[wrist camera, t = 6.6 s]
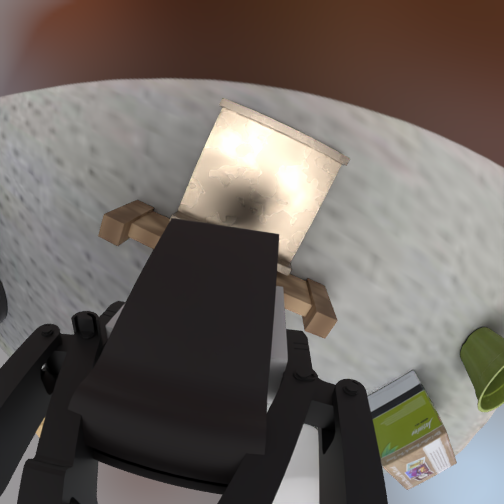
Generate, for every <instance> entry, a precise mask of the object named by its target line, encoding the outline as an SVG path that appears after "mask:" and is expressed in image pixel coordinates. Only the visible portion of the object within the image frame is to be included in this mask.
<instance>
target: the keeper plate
mask: <svg viewBox="0 0 504 504" xmlns="http://www.w3.org/2000/svg"><path fill="white" fill-rule="evenodd" d="M219 105H220V106H221V107H222V110H221V112H220V114H219V117H218V119H217V121H216V123H215V125H214V127H213V129H212V131H211V134H210V136H209V138H208V140H207V142H206V145H205V147H204V149H203V151H202V154H201V156H200V158H199V160H198V163H197V165H196V167H195V170H194V172H193V174H192V177H191V179H190V182H189V184H188V186H187V189H186V191H185V194H184V196H183V199H182V201H181V204H180V206H179V209H178V211H177V212H175V213H174V214H172V216H171V218H170V220H171V219H172V218H176V219H183V220H190V221H197V222H204V223H211V224H217V225H224V226H231V227H237V228H244V229H250V230H257V231H263V232H269V233H276V234H279V249H278V265H277V271H278V272H280V273H283V274H285V275H287V276H288V275H289V274H290V272H291V270H292V269H291V264H290V262H291V260H292V258H293V257H294V255H295V253H296V251H297V249H298V247H299V246H300V244H301V242H302V240H303V238H304V236H305V234H306V233H307V231H308V229H309V227H310V225H311V223H312V221H313V219H314V217H315V215H316V214H317V212H318V210H319V208H320V206H321V204H322V202H323V200H324V198H325V196H326V194H327V192H328V190H329V188H330V186H331V185H332V183H333V181H334V179H335V177H336V175H337V173H338V171H339V169H340V167H341V165H347V164H348V162H349V160H350V158H348V157H346V156H344V155H343V154H341V153H339V152H337V151H335V150H334V149H332V148H330V147H328V146H326V145H324V144H322V143H321V142H319V141H317V140H315V139H313V138H311V137H309V136H307V135H305V134H303V133H301V132H299V131H297V130H295V129H293V128H291V127H289V126H287V125H284V124H282V123H280V122H278V121H276V120H274V119H271V118H269V117H267V116H265V115H263V114H260V113H258V112H256V111H253V110H251V109H249V108H246V107H244V106H241V105H239V104H237V103H234V102H232V101H229V100H227V99H224V98H222V100H221V102H220V104H219ZM169 222H170V221H169Z"/></svg>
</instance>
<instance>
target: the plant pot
mask: <svg viewBox="0 0 504 504" xmlns="http://www.w3.org/2000/svg"><path fill="white" fill-rule="evenodd" d="M460 357H461V360H462V362H463V364H464V366H465V368H466V371H467V373H468V375H469V377H470V379H471V382H472V384H473V386H474V389H475V393H476V396H477V399H478V409H479V411H481V412H489V411H491V410H494V409H495V408H498V407H499V406H501V405H502V404H503V403H504V338H503V337H501V336H500V335H498V334H496V333H495V332H493V331H492V330H490V329H489V328H486V327H483V328H480V329H477V330H476V331H474V332H473V333H472V334H471V335H470V336H469V337H468V339H467V341H466V343H465V344H464V345H463V346H462V349H461V352H460Z"/></svg>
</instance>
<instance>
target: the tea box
mask: <svg viewBox="0 0 504 504" xmlns="http://www.w3.org/2000/svg"><path fill="white" fill-rule="evenodd" d="M367 397H368V401H369V406H370V410H371V415H372V419H373V424H374V428H375V433H376V438H377V443H378V448H379V453H380V459H381V463H382V466H383V468H384V469H385V470H386V471H387V472H389V473H390V474H391V475H392V476H393V477H394V478H395V479H396V480H397V481H398V482H399V483H400V484H401V485H402V486H403V487H404V488H406V489H407V490H408V489H410V488H412V487H414V486H416V485H418V484H420V483H422V482H424V481H426V480H428V479H430V478H431V477H433V476H435V475H437V474H439V473H441V472H442V471H444V470H446V469H447V468H449V467H451V466H452V465H454V464H456V463H457V462H456V459H455V455H454V452H453V449H452V447H451V444H450V440H449V437H448V435H447V432H446V429H445V427H444V425H443V423H442V421H441V419H440V417H439V415H438V413H437V411H436V409H435V408H434V406H433V404H432V402H431V400H430V398H429V396H428V395H427V393H426V391H425V389H424V387H423V385H422V384H421V382H420V380H419V379H418V377H417V375H416V373H415V372H414V371H410V372H409V373H407V374H405V375H404V376H402V377H400V378H399V379H397V380H395V381H394V382H392V383H390V384H389V385H387V386H385V387H383V388H382V389H380V390H378V391H376V392H375V393H373V394H371V395H369V396H367Z"/></svg>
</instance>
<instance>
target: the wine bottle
mask: <svg viewBox="0 0 504 504" xmlns="http://www.w3.org/2000/svg"><path fill="white" fill-rule="evenodd" d="M272 504H319V443H318V430H317V429H316V428H314V427H313V426H310V425H308V424H303V427H302V430H301V433H300V435H299V438H298V441H297V444H296V446H295V449H294V452H293V454H292V457H291V460H290V462H289V465H288V467H287V470H286V472H285V475H284V477H283V480H282V482H281V485H280V487H279V489H278V492H277V494H276V496H275V499H274V501H273V503H272Z"/></svg>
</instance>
